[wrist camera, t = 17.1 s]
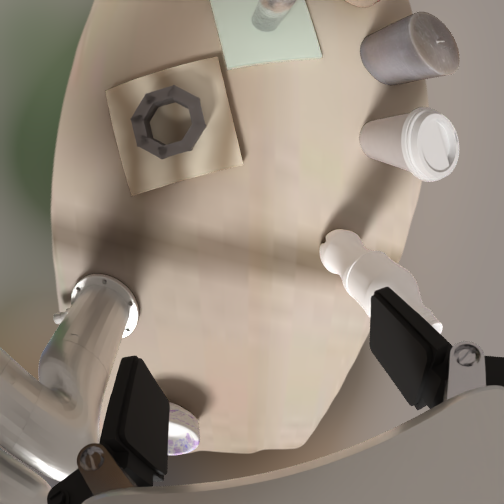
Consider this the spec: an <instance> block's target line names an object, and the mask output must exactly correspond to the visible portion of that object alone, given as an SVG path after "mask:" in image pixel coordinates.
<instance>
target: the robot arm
mask: <svg viewBox="0 0 504 504" xmlns="http://www.w3.org/2000/svg"><path fill="white" fill-rule="evenodd" d="M138 318H139V308H138V304H137V301H136V299H135V297H134V295H133V294H132V292H131V291H130V290H129V289H128V288H127V287H126V286H125V285H124V284H123V283H122V282H120V281H119V280H117V279H115V278H113V277H111V276H108V275H104V274H92V275H88V276H85V277H83V278H82V279H81V280H79V282H78V283H77V284H76V285H75V287H74V289H73V291H72V294H71V307H70V308H68V309H66V311H65V312H60V313H55V314H54V321H55V323H56V324H60V325H59V327H58V328H57V330H56V331H55V333H54V335H53V336H52V338H51V339H50V341H49V343H48V344H47V346H46V348H45V349H44V351H43V353H42V355H41V357H40V361H39V381H38V380H36V379H35V378H34V377H33V376H32V375H30V374H29V373H28V372H27V371H26V370H25V369H23V368H22V367H21V366H20V365H19V364H18V363H17V362H16V361H15V360H14V359H13V358H11V357H10V356H9V355H8V354H7V353H6V352H5V351H4V350H2V349H1V348H0V445H1V446H2V447H3V448H5V449H6V450H7V451H8V452H9V453H11V454H12V455H13V456H15V457H16V458H18V459H19V460H21V461H22V462H24V463H25V464H27V465H29V466H30V467H32V468H34V469H35V470H37V471H38V472H40V473H42V474H44V475H46V476H48V477H50V478H52V479H55V480H58V481H61V482H59V483H58V484H57V485H55V486H54V487H53V488H52V489H51V487H50V485H49V484H48V483H47V482H46V481H45V480H44V479H43V478H42V477H40V476H39V475H38V474H37V473H36V472H34V471H33V470H31V469H30V468H28V467H27V466H26V465H24V464H22V463H21V462H20V461H18V460H17V459H15V458H14V457H12V456H11V455H10V454H8V453H7V452H5V451H4V450H3V449H1V448H0V504H504V357H491V356H484V352H483V350H482V349H481V347H480V346H478V345H477V344H475V343H473V342H468V341H463V342H459V343H457V344H456V345H454V346H452V345H451V344H450V343H449V342H447V340H446V339H445V338H444V337H443V336H442V335H441V334H440V333H439V332H438V331H437V330H435V329H434V328H433V327H432V326H431V325H430V324H429V323H428V322H427V321H426V320H425V319H424V318H423V317H422V316H421V315H420V314H419V313H417V312H416V311H415V310H414V309H413V308H412V307H410V306H409V305H408V304H407V303H406V302H405V301H404V300H403V299H402V298H401V297H399V296H398V295H397V294H396V293H395V292H394V291H393V290H392V289H391V288H389V287H384V288H381V289H379V290H376V291H375V292H374V295H373V296H371V320H370V349H371V351H372V353H373V354H374V355H375V357H376V358H377V359H378V361H379V362H380V364H381V365H382V367H383V368H384V369H385V371H386V372H387V373H388V375H389V376H390V377H391V379H392V380H393V382H394V383H395V385H396V386H397V387H398V389H399V390H400V391H401V393H402V395H403V396H404V398H405V399H406V400H407V402H408V403H409V404H410V405H411V406H413V405H414V406H415V407H416V409H417V410H419V409H421V408H423V407H425V406H426V405H427V406H428V407H429V408H430V410H428V411H426V412H424V413H423V414H420V415H419V416H417V417H415V418H413V419H411V420H409V421H407V422H405V423H403V424H401V425H399V426H397V427H395V428H393V429H391V430H389V431H387V432H385V433H382V434H380V435H378V436H376V437H374V438H372V439H369V440H367V441H364V442H362V443H359V444H357V445H354V446H352V447H349V448H347V449H344V450H341V451H339V452H336V453H333V454H330V455H327V456H324V457H321V458H318V459H316V460H312V461H309V462H305V463H302V464H299V465H295V466H291V467H288V468H284V469H280V470H276V471H272V472H268V473H263V474H258V475H253V476H248V477H242V478H237V479H230V480H224V481H217V482H209V483H199V484H188V485H175V486H154V487H152V486H153V481H164V475H166V474H167V460H168V431H169V412H170V405H169V401H168V399H167V398H166V396H165V395H164V393H163V392H162V390H161V389H160V387H159V386H158V384H157V382H156V381H155V379H154V378H153V376H152V374H151V373H150V371H149V370H148V368H147V366H146V365H145V363H144V361H143V360H142V359H141V358H139V359H138V357H137V356H130V357H124V358H122V360H121V363H120V366H119V369H118V373H117V376H116V380H115V383H114V387H113V391H112V394H111V396H110V400H109V404H108V408H107V412H106V416H105V420H104V425H103V429H102V434H101V438H100V443H99V421H100V412H101V406H102V402H103V398H104V394H105V390H106V387H107V383H108V380H109V377H110V374H111V370H112V367H113V364H114V361H115V358H116V355H117V352H118V349H119V346H120V343H121V340H122V338H123V337H126V336H127V335H129V334H130V333H131V332H132V331H133V330H134V328H135V327H136V324H137V322H138Z"/></svg>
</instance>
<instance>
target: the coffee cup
mask: <svg viewBox="0 0 504 504" xmlns="http://www.w3.org/2000/svg"><path fill="white" fill-rule="evenodd" d="M359 140H360V145H361V148H362V150H363V152H364V153H365V154H366V155H367V156H368V157H370V158H372V159H374V160H377V161H380V162H384V163H386V164H389V165H392V166H395V167H398V168H401V169H403V170H406V171H409V172H411V173H413V175H414V176H416V177H417V178H418V179H420V180H422V181H426V182H432V181H436V180H439V179H442V178H443V177H446V176H447V175H449V174H450V173H451V172H452V171H453V170H454V168H455V166H456V164H457V160H458V156H459V140H458V136H457V133H456V130H455V128H454V126H453V124H452V123H451V122H450V121H449V120H448V119H447V118H446V117H445V116H443V115H442V114H441V113H439V112H438V111H436V110H434V109H431V108H428V107H420V108H417V109H415V110H413V111H412V112H411V113H407V114H402V115H397V116H392V117H387V118H382V119H378V120H373V121H370V122H367V123H366V124H365V125H364V126H363V127H362V129H361V132H360V137H359Z"/></svg>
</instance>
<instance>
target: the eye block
mask: <svg viewBox="0 0 504 504" xmlns="http://www.w3.org/2000/svg"><path fill="white" fill-rule="evenodd" d="M105 93H106V98H107V103H108V108H109V112H110V117H111V121H112V126H113V130H114V134H115V138H116V143H117V147H118V150H119V154H120V158H121V162H122V166H123V169H124V173H125V176H126V180H127V183H128V187H129V190H130V193H131V197H132V196H135V195H138V194H141V193H144V192H147V191H150V190H153V189H157V188H160V187H163V186H166V185H170V184H173V183H176V182H180V181H183V180H187V179H190V178H194V177H198V176H201V175H205V174H209V173H212V172H216V171H220V170H224V169H228V168H232V167H236V166H241V165H243V161H242V157H241V152H240V148H239V144H238V140H237V135H236V131H235V127H234V123H233V118H232V114H231V110H230V106H229V102H228V97H227V93H226V89H225V85H224V81H223V77H222V73H221V69H220V64H219V60H218V56H217V57H212V58H208V59H203V60H199V61H195V62H191V63H187V64H183V65H179V66H175V67H172V68H168V69H165V70H162V71H158V72H155V73H152V74H149V75H146V76H143V77H140V78H137V79H134V80H131V81H129V82H126V83H123V84H121V85H118V86H116V87H113V88H111V89H108V90H106V91H105Z"/></svg>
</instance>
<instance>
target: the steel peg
mask: <svg viewBox="0 0 504 504" xmlns="http://www.w3.org/2000/svg"><path fill="white" fill-rule="evenodd" d="M295 2H296V0H259V2H258V4H257V6H256V9H255V11H254V13H253V16H252V24H253V25H254V27H255V28H257V29H258V30H260V31H264V32H270V31H273V30H275V29H276V28H277V27H278V26H279V24H280V23H281V21H282V20H283V19H284V17H285V16H286V14H287V13H288V11H289V10H290V9H291V7H292V6H293V5H294V3H295Z"/></svg>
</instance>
